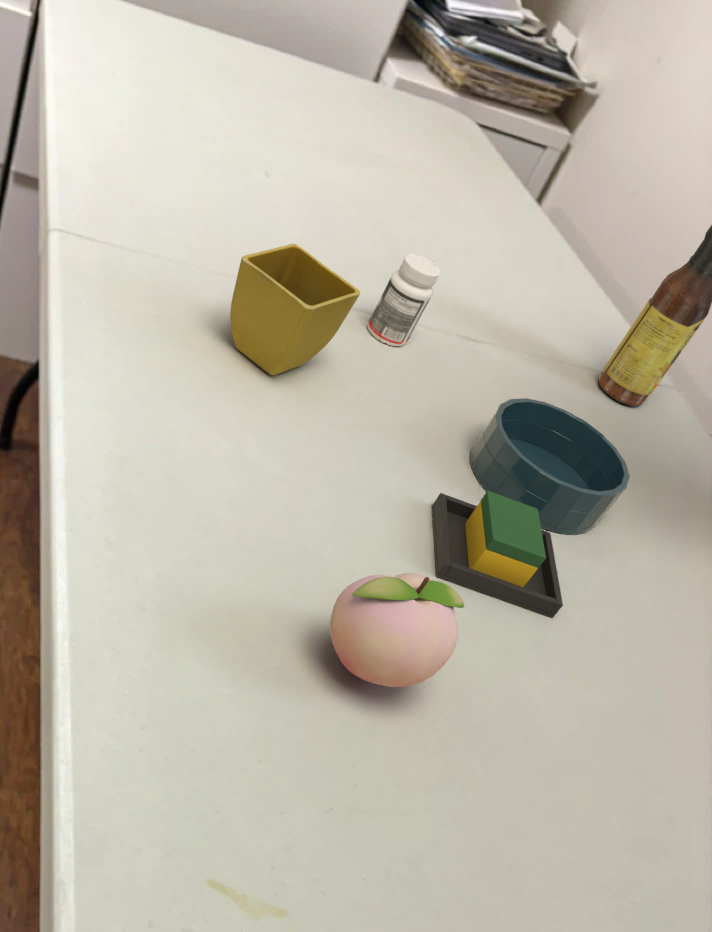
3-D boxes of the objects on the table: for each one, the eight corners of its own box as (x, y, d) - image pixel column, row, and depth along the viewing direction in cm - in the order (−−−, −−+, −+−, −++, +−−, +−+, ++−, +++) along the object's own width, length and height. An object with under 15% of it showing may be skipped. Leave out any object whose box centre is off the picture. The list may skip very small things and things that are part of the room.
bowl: (588, 468, 114) (617, 429, 111) (607, 552, 105) (640, 513, 101) (465, 421, 112) (491, 380, 109) (474, 503, 103) (502, 461, 99)
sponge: (513, 541, 100) (538, 508, 97) (520, 591, 95) (546, 558, 92) (464, 524, 99) (487, 490, 96) (468, 572, 94) (493, 538, 91)
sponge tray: (540, 545, 102) (550, 532, 100) (552, 618, 95) (563, 605, 94) (431, 505, 100) (440, 492, 99) (435, 576, 93) (445, 563, 92)
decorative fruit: (340, 725, 78) (406, 630, 71) (291, 640, 82) (348, 542, 75) (440, 711, 82) (511, 620, 75) (388, 631, 86) (451, 537, 79)
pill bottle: (382, 318, 121) (418, 248, 115) (413, 343, 120) (451, 273, 114) (358, 325, 118) (393, 254, 112) (389, 351, 117) (427, 280, 111)
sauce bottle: (648, 414, 127) (768, 257, 113) (602, 399, 126) (717, 238, 112) (633, 383, 132) (747, 228, 117) (588, 368, 130) (698, 209, 116)
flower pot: (207, 340, 106) (240, 254, 99) (261, 323, 111) (295, 241, 105) (272, 393, 104) (310, 309, 97) (324, 373, 109) (363, 292, 103)
